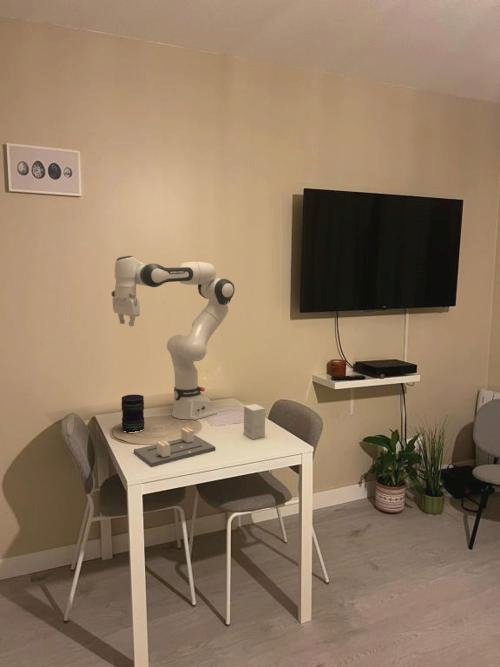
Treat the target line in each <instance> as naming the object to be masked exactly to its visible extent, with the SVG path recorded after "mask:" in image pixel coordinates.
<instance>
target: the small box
mask: <svg viewBox="0 0 500 667" xmlns="http://www.w3.org/2000/svg"><path fill="white" fill-rule="evenodd" d="M265 432H266V408H264V407H263V406H261V405H259V404H256V403H253V404H248V405H244V406H243V435H245V436H246V437H248V438H250V439H251V440H257V439H258V440H259V439H263V438H265V437H266V433H265Z"/></svg>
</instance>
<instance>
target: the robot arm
mask: <svg viewBox="0 0 500 667" xmlns="http://www.w3.org/2000/svg"><path fill="white" fill-rule="evenodd" d="M114 279H115V286H114V287H115V288H114V289H113V291H111V298H112V310H113V313H114V314H117V316H118V319H119V324H121V325H125V323H126V321H125V318H124V316H126V317H127V316H128V317H129V321H128V326H129V327H134V326H135V320H136V317H140V314H141V308H140V301H139V299H138V298H137V285H139V286H146V287H150V288H158V287H160V286H162V285H164V284H166V283H174V282H179V283H180V284H183V285H189V286H191V285H193V286H194V285H197V291H198V294H199V295H200V296H201V298H203V299H205V300H206V299H207V300H208V302H207V304H206V306H205V307H204V308H203V309H202V310H201V312H199V314H198V316H196V318H195V319H194V320H193V321H192V323H191V326H192V328H191V329H190V330H191V331H190V332H189V334H188V335H187V336H186V335H184V334H183V335H182V334H178V335H173V336H170V337H169V339H168V341H167V343H166V348H167V351H168V352H169V354H170V358H171V361H172V362H171V363H172V365H173V371H174V387H173V399H174V402H173V409H172V413H171V416H172V417H173V418H175V419H180V420H193V421H197V420H200V419H203V418H207V417H210V416H213V415H216V414H218V411H217V409H216V408H214V407H213V404H212V403H213V402H212V400H211V399H209V397H207V396H205V395H204V394H203V393H202V392H205V390H206V389H205V387H203V386H198V384H199V382H198V381H199V380H198V377H199V376H198V369H197V367H196V365H195V363H194V362H200V361H202V360H203V359H204V358H205V356H206V355H207V345H208V343H209V340H210V338H211V337H212V335H213V334H214V333H215V331H216V330H217V329H218V328H219V327H220V325H221V324H222V322H224V319H225V318H226V316H227V314H228V313H229V306H228V304H229V303H230V302H231V300H232V298H233V296H234V294H235V285H234V283H233V282H232V281H231V280H229V279H226V278H221V277H217V275H216V269H215V266H214V265H213V264H212V263H209V262H205V261H196V260H195V261H184V262H181V263H179V264H178V265H177V267H164V266H162V265H161V264H158V263H145V262H142V261H139V260H138V259H137V258H135V256H133V255H124V256H120V257H118V258H116V260H115V264H114Z"/></svg>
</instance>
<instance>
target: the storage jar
mask: <svg viewBox="0 0 500 667" xmlns="http://www.w3.org/2000/svg"><path fill="white" fill-rule="evenodd" d="M144 399H145V398H144V395H141V394H127V395H124V396H122V397H121V411H122V412H121V413H122V414H121V415H122V418H121V427H122V428H121V430H123V431H126V432H135V431H140V430H143V429H144V430H145V417H144V416H145V415H144V410H145V401H144ZM144 430H143V431H144ZM123 431H122V432H123Z"/></svg>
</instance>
